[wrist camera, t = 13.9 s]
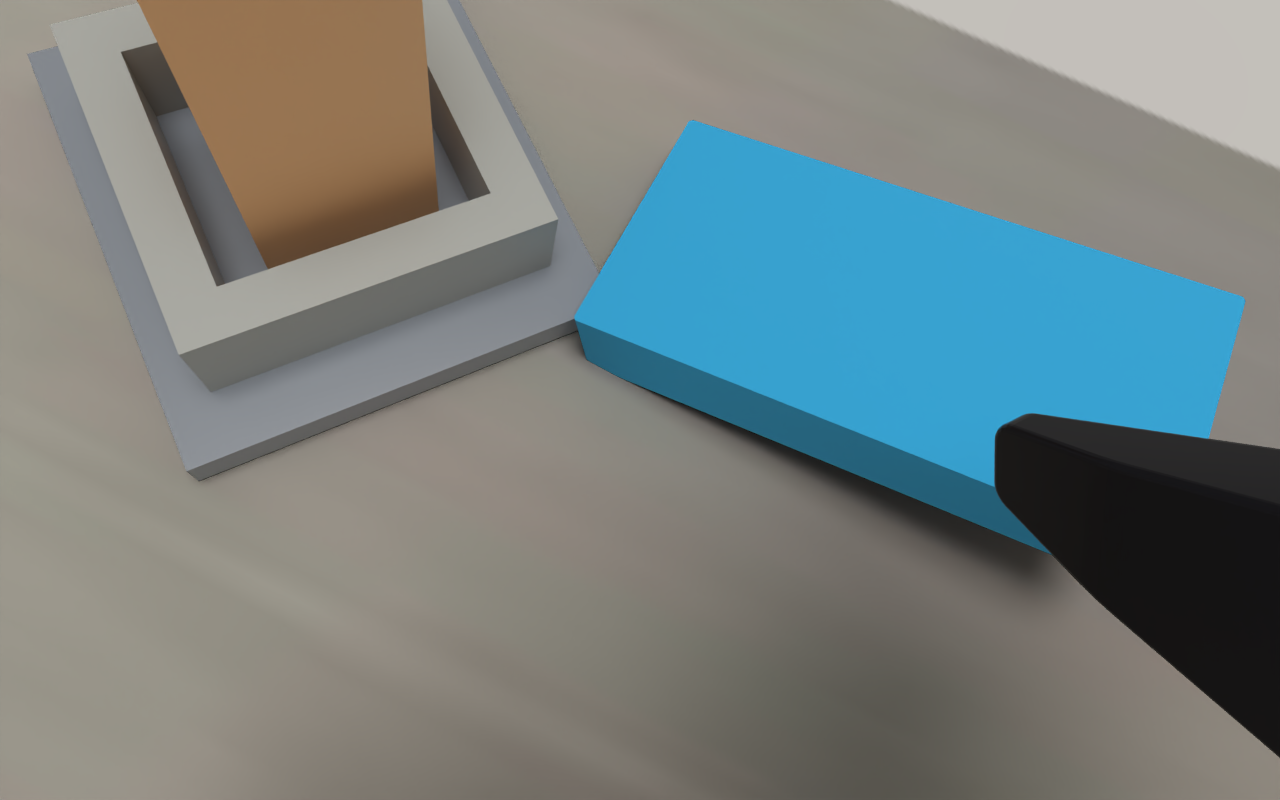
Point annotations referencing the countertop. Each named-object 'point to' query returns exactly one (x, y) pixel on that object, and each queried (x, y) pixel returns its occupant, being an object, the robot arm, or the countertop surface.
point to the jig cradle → (319, 283)
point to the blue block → (890, 321)
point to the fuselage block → (308, 112)
